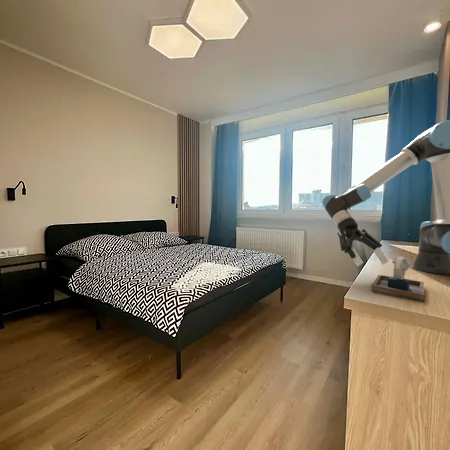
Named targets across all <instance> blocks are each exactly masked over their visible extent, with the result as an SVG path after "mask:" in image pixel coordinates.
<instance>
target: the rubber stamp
mask: <svg viewBox="0 0 450 450" xmlns="http://www.w3.org/2000/svg"><path fill="white" fill-rule="evenodd" d="M391 264H393V266H394V267H393V276H392V275H391V276H390V277H389V278H388V287H390V288H395V289H400V290H404V291H407V290H408V289H409V284H410V280H411V279H409V278H405V275H406V272H407V271H408V269H410V266H411V261H410V260H409V259H408V258H407V257H405V256H396V255H395V258H394V259H393V260H392V261H391Z"/></svg>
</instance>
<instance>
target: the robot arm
mask: <svg viewBox="0 0 450 450" xmlns="http://www.w3.org/2000/svg"><path fill="white" fill-rule="evenodd" d="M422 161H427V162H429V163H430V166H431V167H430V168H431V174H432V184H433V192H434V199H435V200H434V201H435V209H436V217H437V218H436V219H435V221H433V220H431V221H430V220H429V221H428V220H427V221H423V222H422V223H421V224H420V228H419V240H418V241H419V242H418V251H417V254H416V256H415V259H414V261H413V262H412V268H413V269H414V270H418V271H421V272H425V273H431V274H439V275H440V274H441V275H450V119H448V120H443V121H440V122H438V123H435V124H433V125H432V126H431V127H430V128H428V129H426V130H425V131H423V132H422V133H420V134H419V135H417V137H415V138H414V140H412V141H411V142H410V143H408V144H407V145H406V146H405V147H403V148H402V149H401V151H400V153H399V154H397V155H395V156H394V157H392V158H391V159H389V160H388V161H386V162H385V163H384V164H382V165H381V166H379V167H378V168H376V169H375V170H374V171H372V172H371V173H369V174H368V175H366V176H365V177H364V178H363V179H361V180H359V181H358V182H357V183H355V184H354V185H352V186H351V187H349V188H347V190H344V191H343V192H342V193H341V194H339V195H337V194H336V193H331V194H327V195H326V196H324V198H323V199H322V202H321V203H322V205H323V207H324V209H325V211H326V212H327V214H328V215H329V217H330V218H331V220H332V221H333V223H334V224H335V226H336V227H337V229H338V232H337V236H338V237H339V244H340V250H341V251H342V252H344V254H348V256H350V258H351V259H352V260H353V262H354V263H355V265H356V267H360V266H361V265H362V264H364V261H363V260H362V259H361V257H360V255H359V254H358V252H357V251H356V249H355V248H353V242H354V241H356V242H357V241H358V242H360V243H363V244H364V245H366V246H367V247H369V248H370V249H372V250H373V252H374V254H375V256H376V257H377V259H378V260H379V261H380V263H381V264H382V265H385V264H387V263H388V262H390V261H389V259H388V257H387V256H386V255H385V252H383V250H382V249H381V248H382V246H383V245H382V243H381V242H379V241H378V240H377V239H376V238H374V237H373V236H372V235H371V234H370V233H368V232H367V230H366V229H365V228H363V229H361V230H360V229H359V228H358V226H359V225H358V223H357V221H356V220H355V219H354V217H353V216H352V215H351V213H350V212H349V209H351V208H353V207H356V206H357V205H359V204H362V203H364V202H366V201H367V200H369V199H371V197H372V194H371V193H372V192H374V191H375V190H376V189H378V188H379V187H382V186H383V185H384V184H385V183H387V182H388V181H390V180H392V179H393V178H395V177H396V176H397V175H399V174H400V173H402V172H404V171H405V170H406V169H408V168H409V167H410V166H416V165H418V164H419V163H421V162H422Z"/></svg>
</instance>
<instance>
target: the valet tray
mask: <svg viewBox="0 0 450 450" xmlns="http://www.w3.org/2000/svg"><path fill="white" fill-rule="evenodd" d="M389 277H391V276H389V275H385V274H384V275H383V274H378V275H377V276H376V278H375V279H374V280H373V283H372V284H371V289H370V291H371V292H372V293H376V294H377V293H378V294H381V295H387V296H391V297H396V298H402V299H407V300H412V301H414V302H415V301H416V302H419V303H420V302H421V303H424V302H425V287H424V286H425V284H424V281H421V280H420V281H419V280H414V279H409V280H410V284H409V289H408V290H407V291H404V290H400V289H395V288H390V287H388V278H389Z"/></svg>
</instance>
